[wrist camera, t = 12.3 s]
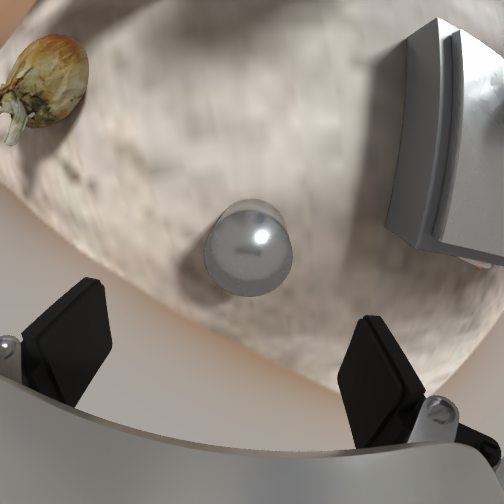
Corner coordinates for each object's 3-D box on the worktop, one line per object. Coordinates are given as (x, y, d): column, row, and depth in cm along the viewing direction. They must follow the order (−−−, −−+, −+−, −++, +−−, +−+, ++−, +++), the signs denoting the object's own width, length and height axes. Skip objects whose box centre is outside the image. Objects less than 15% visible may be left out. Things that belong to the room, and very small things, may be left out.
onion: (120, 80, 17) (57, 57, 9) (59, 149, 19) (-9, 158, 11) (84, 32, 15) (27, 6, 7) (29, 96, 17) (-31, 93, 9)
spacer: (291, 203, 20) (299, 220, 15) (280, 268, 22) (284, 301, 17) (221, 194, 20) (207, 208, 15) (215, 260, 22) (201, 290, 17)
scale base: (525, 108, 14) (557, 109, 10) (502, 261, 20) (531, 280, 16) (406, 37, 14) (437, 17, 10) (382, 236, 20) (411, 260, 16)
